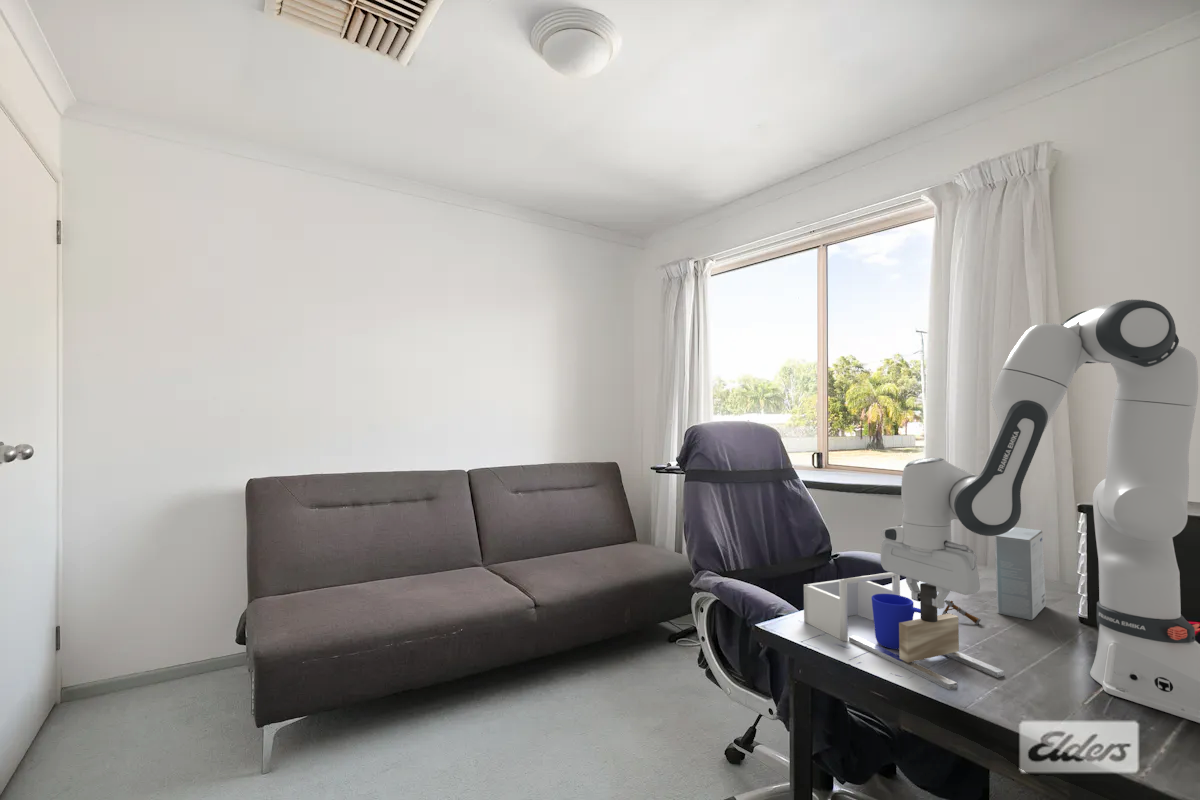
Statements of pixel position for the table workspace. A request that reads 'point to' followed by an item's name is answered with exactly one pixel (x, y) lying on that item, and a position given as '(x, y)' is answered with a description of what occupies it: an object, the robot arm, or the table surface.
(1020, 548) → the hard drive box
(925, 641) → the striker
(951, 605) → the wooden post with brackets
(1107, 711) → the table surface
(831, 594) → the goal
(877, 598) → the mug
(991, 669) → the rails
